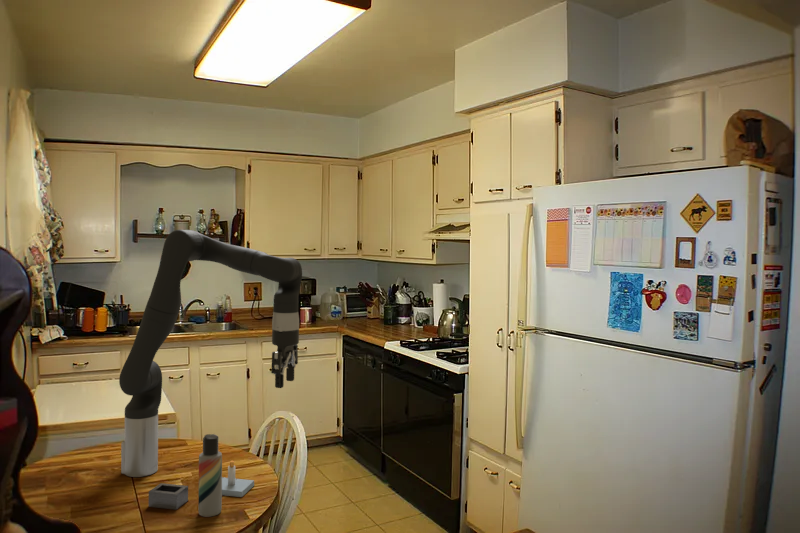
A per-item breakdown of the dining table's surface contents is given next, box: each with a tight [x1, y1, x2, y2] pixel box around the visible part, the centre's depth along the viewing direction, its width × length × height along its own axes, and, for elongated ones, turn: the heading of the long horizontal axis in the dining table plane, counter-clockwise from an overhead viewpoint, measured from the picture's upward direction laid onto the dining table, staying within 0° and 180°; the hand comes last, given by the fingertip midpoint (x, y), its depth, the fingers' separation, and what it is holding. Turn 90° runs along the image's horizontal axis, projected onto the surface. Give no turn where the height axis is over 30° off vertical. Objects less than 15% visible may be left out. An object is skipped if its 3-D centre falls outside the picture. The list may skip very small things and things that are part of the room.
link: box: [148, 482, 189, 510], centre depth 156 cm, size 8×6×4 cm
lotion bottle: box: [197, 433, 223, 518], centre depth 152 cm, size 6×6×20 cm
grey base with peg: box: [222, 460, 255, 498], centre depth 166 cm, size 10×8×8 cm
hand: (284, 384), depth 169 cm, fingers open, 8 cm apart
